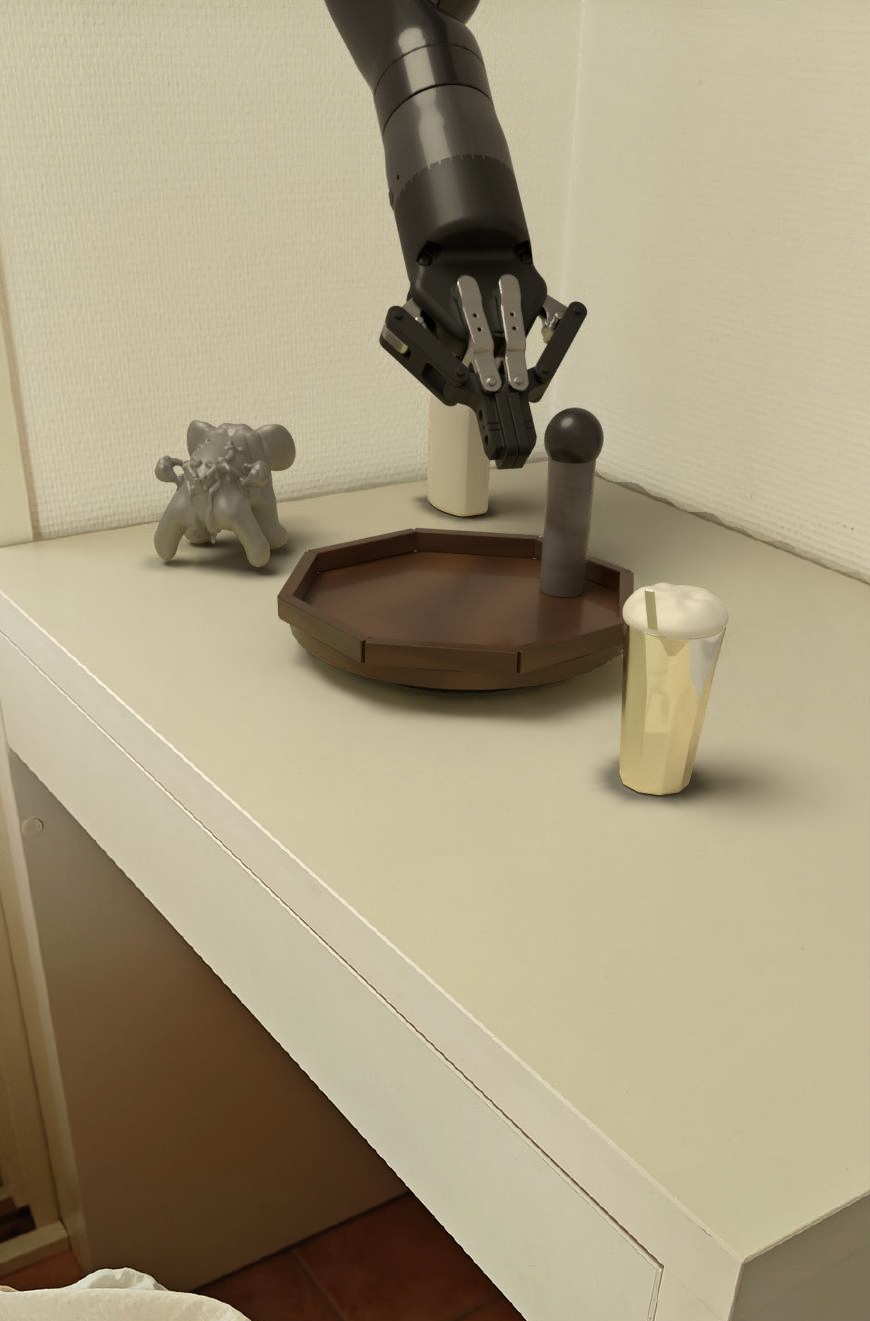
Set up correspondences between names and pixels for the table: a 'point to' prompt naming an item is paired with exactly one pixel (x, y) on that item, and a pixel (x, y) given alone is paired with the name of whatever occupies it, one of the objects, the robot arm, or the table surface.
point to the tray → (471, 592)
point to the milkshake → (666, 682)
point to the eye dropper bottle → (456, 460)
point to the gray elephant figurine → (226, 488)
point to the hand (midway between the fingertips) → (514, 461)
